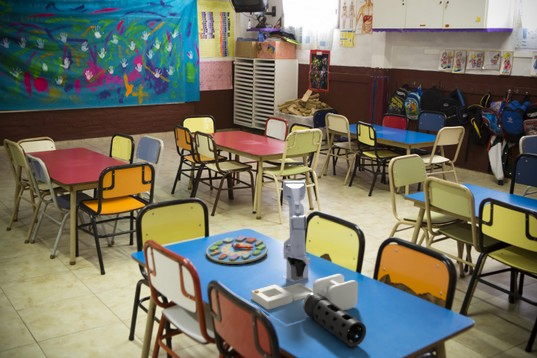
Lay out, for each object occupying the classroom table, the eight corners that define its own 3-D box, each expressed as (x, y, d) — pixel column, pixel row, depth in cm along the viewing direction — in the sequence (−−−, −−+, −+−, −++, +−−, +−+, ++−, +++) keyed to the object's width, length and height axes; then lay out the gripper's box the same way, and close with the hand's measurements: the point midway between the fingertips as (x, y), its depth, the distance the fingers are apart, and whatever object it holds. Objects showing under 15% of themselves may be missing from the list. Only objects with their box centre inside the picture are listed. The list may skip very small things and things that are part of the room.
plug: (298, 276, 243) (298, 262, 242) (303, 278, 241) (303, 265, 239) (291, 278, 241) (291, 264, 240) (295, 280, 239) (295, 267, 237)
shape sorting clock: (193, 257, 285) (193, 245, 284) (232, 240, 310) (231, 229, 308) (243, 270, 268) (243, 258, 267) (279, 252, 293) (279, 240, 291)
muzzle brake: (344, 352, 197) (345, 324, 195) (300, 319, 221) (301, 294, 218) (366, 345, 201) (367, 318, 199) (321, 313, 225) (322, 289, 223)
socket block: (275, 293, 244) (275, 282, 242) (292, 303, 234) (292, 292, 233) (251, 300, 237) (251, 289, 236) (267, 311, 227) (267, 300, 226)
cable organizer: (328, 316, 223) (328, 288, 220) (311, 306, 231) (311, 279, 228) (357, 307, 231) (358, 280, 228) (340, 297, 239) (341, 271, 236)
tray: (299, 286, 250) (299, 282, 250) (316, 295, 241) (316, 291, 241) (278, 292, 244) (278, 288, 244) (294, 302, 235) (294, 298, 235)
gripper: (279, 240, 241) (279, 271, 244) (300, 250, 229) (300, 282, 233) (293, 237, 245) (292, 267, 248) (314, 247, 233) (314, 278, 236)
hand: (297, 274), depth 241 cm, fingers closed on plug, 3 cm apart
